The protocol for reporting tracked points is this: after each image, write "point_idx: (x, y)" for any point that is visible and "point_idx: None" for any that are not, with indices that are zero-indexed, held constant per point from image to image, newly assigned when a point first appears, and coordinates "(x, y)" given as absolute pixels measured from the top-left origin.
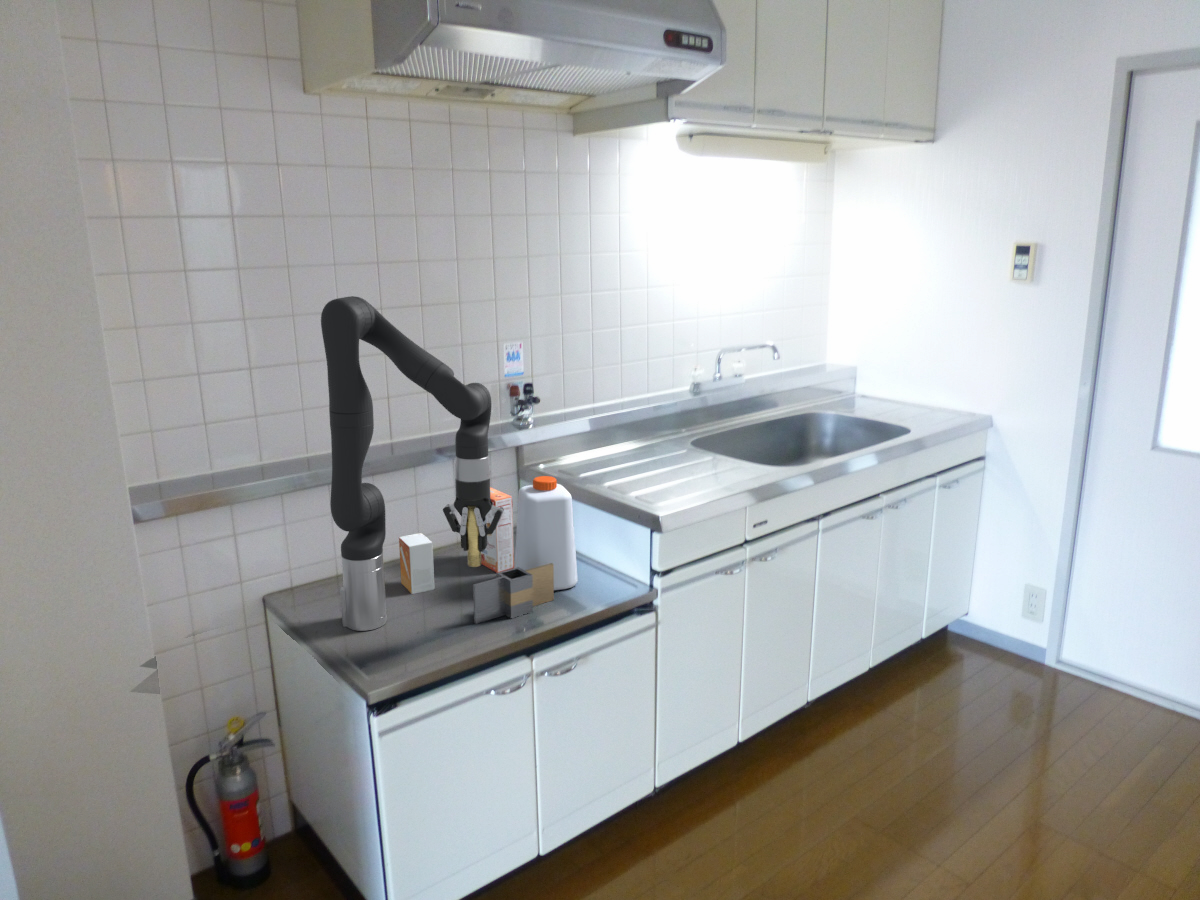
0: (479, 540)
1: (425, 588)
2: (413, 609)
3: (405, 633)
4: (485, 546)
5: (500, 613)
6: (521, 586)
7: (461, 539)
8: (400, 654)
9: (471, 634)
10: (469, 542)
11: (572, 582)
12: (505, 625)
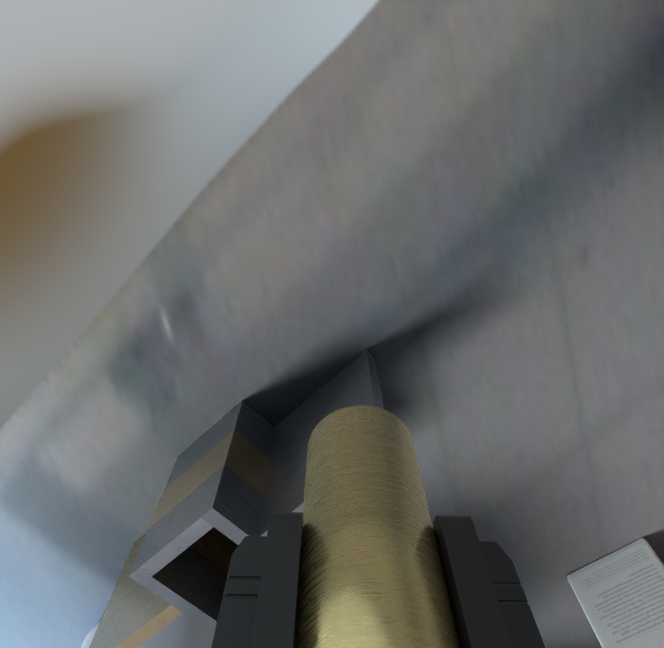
0: (288, 614)
1: (601, 568)
2: (624, 434)
3: (635, 242)
4: (232, 561)
5: (286, 421)
6: (181, 511)
7: (527, 628)
8: (637, 42)
9: (364, 262)
10: (415, 581)
11: (86, 638)
12: (249, 349)
